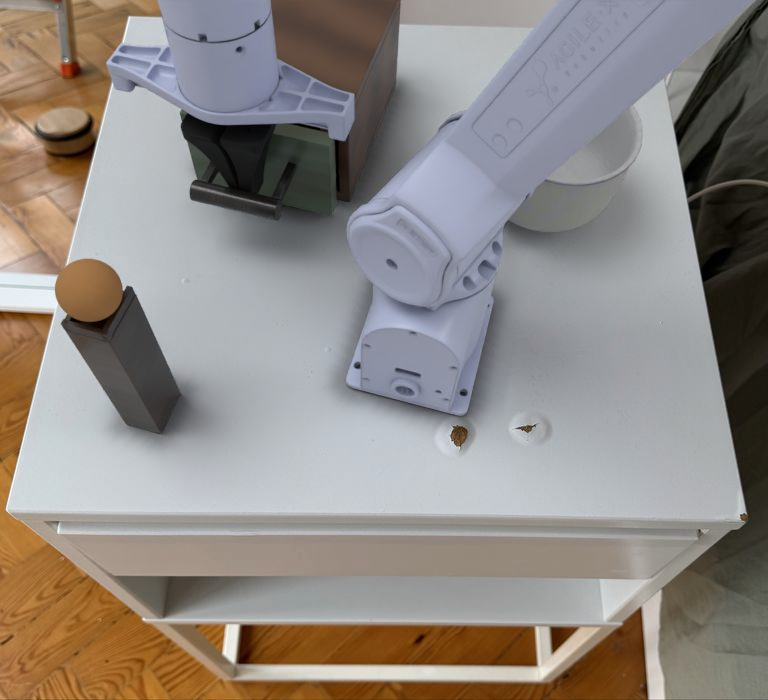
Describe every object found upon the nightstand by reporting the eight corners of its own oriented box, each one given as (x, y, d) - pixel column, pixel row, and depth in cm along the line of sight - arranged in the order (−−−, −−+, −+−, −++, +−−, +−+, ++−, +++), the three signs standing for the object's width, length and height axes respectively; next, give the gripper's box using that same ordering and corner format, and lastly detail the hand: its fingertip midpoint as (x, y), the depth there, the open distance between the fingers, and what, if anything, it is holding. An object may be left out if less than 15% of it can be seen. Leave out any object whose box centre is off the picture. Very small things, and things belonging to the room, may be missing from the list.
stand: (161, 434, 45) (105, 335, 35) (125, 424, 45) (60, 323, 35) (181, 393, 46) (133, 286, 36) (146, 383, 47) (89, 275, 37)
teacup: (605, 154, 58) (639, 71, 51) (614, 262, 53) (652, 184, 46) (432, 138, 59) (442, 52, 52) (423, 243, 53) (432, 163, 46)
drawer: (311, 265, 51) (305, 198, 45) (172, 231, 52) (148, 161, 46) (378, 103, 59) (380, 29, 53) (257, 77, 60) (246, 1, 54)
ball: (113, 340, 35) (94, 305, 32) (56, 325, 35) (32, 289, 33) (140, 291, 36) (123, 254, 34) (85, 277, 37) (64, 239, 34)
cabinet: (349, 202, 55) (348, 112, 47) (205, 168, 56) (182, 75, 49) (396, 85, 62) (401, -9, 54) (266, 58, 63) (254, -38, 56)
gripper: (370, -9, 39) (367, 171, 51) (122, -60, 41) (174, 127, 53) (331, 74, 36) (337, 247, 47) (61, 15, 37) (131, 197, 49)
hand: (249, 189), depth 50 cm, fingers closed, pressing on drawer
